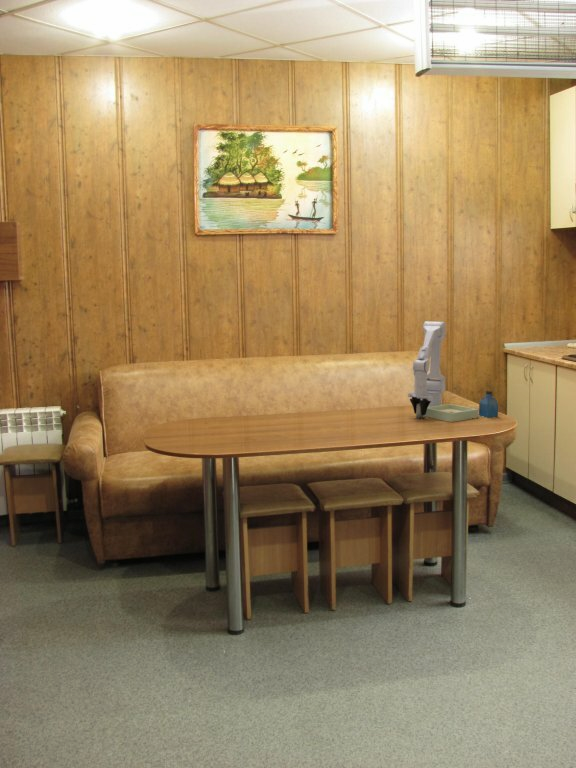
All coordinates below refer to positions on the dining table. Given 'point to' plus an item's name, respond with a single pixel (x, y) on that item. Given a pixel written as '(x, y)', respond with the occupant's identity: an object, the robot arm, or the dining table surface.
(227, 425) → the dining table surface
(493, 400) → the perfume bottle
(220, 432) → the dining table surface
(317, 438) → the dining table surface
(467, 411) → the box
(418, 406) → the peg
